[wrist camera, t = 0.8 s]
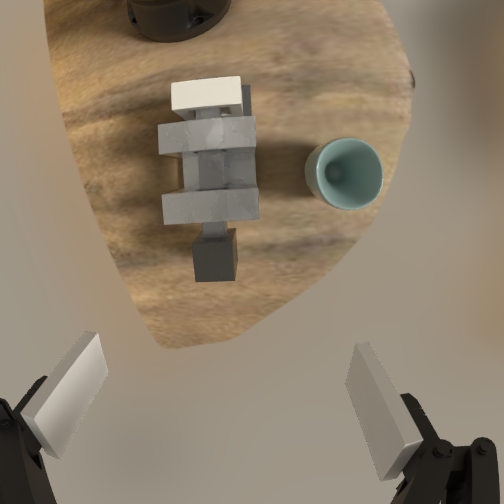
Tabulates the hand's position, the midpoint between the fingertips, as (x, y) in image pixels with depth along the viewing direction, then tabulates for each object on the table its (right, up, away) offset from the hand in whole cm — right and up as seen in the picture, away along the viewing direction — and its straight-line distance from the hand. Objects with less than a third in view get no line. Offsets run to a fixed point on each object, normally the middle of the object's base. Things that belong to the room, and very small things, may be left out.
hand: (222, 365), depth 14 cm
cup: (+12, +16, +25) cm, 32 cm away
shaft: (-3, +14, +20) cm, 25 cm away
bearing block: (-3, +16, +24) cm, 29 cm away
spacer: (-3, +22, +16) cm, 27 cm away
